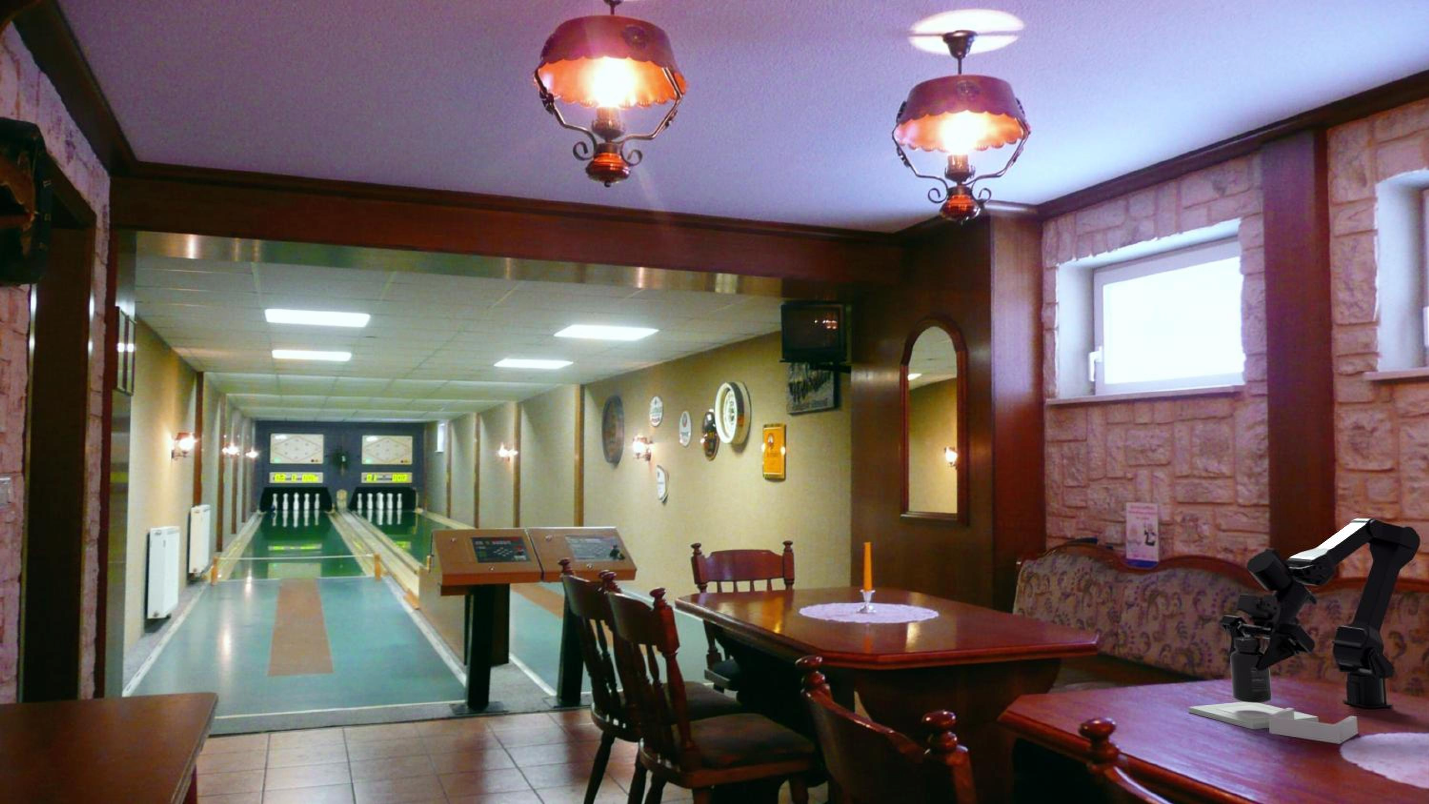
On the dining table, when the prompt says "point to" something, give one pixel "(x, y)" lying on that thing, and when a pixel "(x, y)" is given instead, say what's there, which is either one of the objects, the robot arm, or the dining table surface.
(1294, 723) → the holster
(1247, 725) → the docking plate
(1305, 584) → the robot arm
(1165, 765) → the dining table surface
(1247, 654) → the supplement bottle
